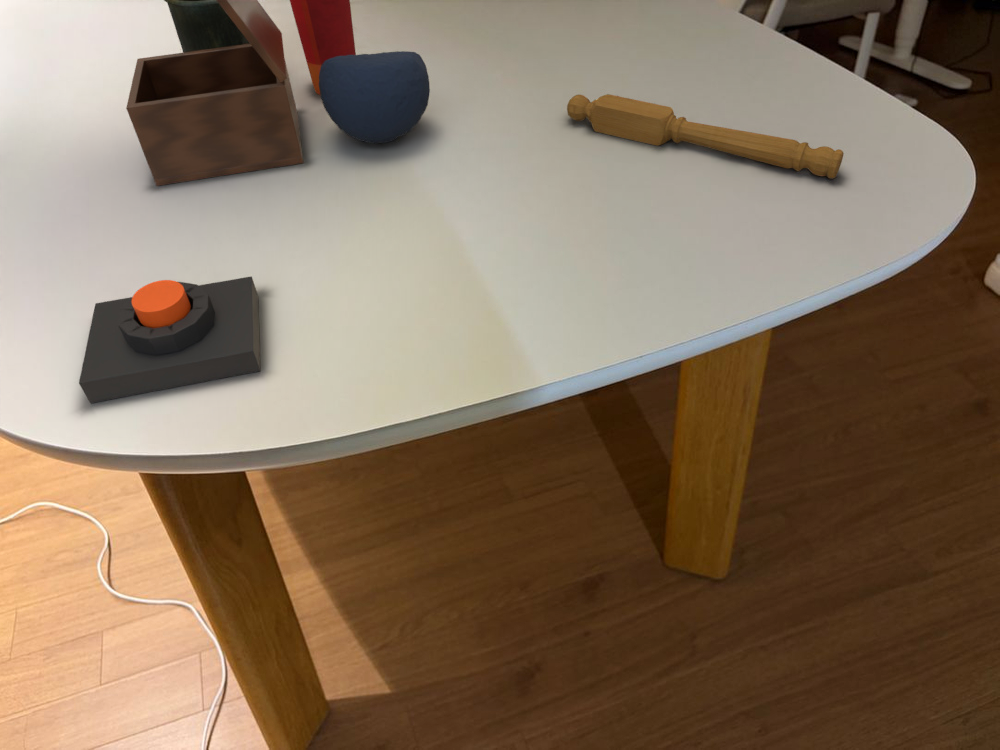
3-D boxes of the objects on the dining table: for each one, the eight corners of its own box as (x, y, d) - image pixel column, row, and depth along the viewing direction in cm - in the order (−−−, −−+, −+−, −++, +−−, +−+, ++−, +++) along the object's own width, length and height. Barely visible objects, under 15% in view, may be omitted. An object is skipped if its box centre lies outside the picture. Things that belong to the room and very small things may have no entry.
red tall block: (375, 75, 103) (357, -42, 93) (354, 102, 98) (332, -19, 88) (319, 72, 105) (295, -44, 95) (295, 98, 99) (267, -21, 89)
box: (156, 186, 85) (126, 107, 79) (164, 132, 94) (137, 58, 88) (303, 163, 87) (284, 85, 81) (297, 113, 96) (280, 39, 90)
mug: (203, 111, 98) (171, 9, 90) (178, 70, 107) (146, -26, 99) (289, 89, 101) (265, -11, 93) (256, 51, 111) (232, -43, 102)
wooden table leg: (839, 157, 77) (562, 98, 89) (831, 185, 79) (562, 123, 91) (847, 144, 79) (575, 87, 91) (839, 171, 81) (574, 112, 93)
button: (137, 332, 62) (128, 315, 61) (141, 301, 65) (133, 284, 64) (189, 323, 63) (182, 306, 61) (191, 293, 65) (185, 275, 64)
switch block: (90, 403, 62) (68, 365, 59) (105, 323, 69) (86, 286, 66) (260, 371, 64) (247, 333, 61) (258, 296, 71) (246, 258, 68)
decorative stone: (449, 147, 89) (441, 57, 82) (345, 172, 86) (327, 81, 79) (416, 104, 96) (406, 19, 90) (319, 126, 94) (301, 40, 87)
